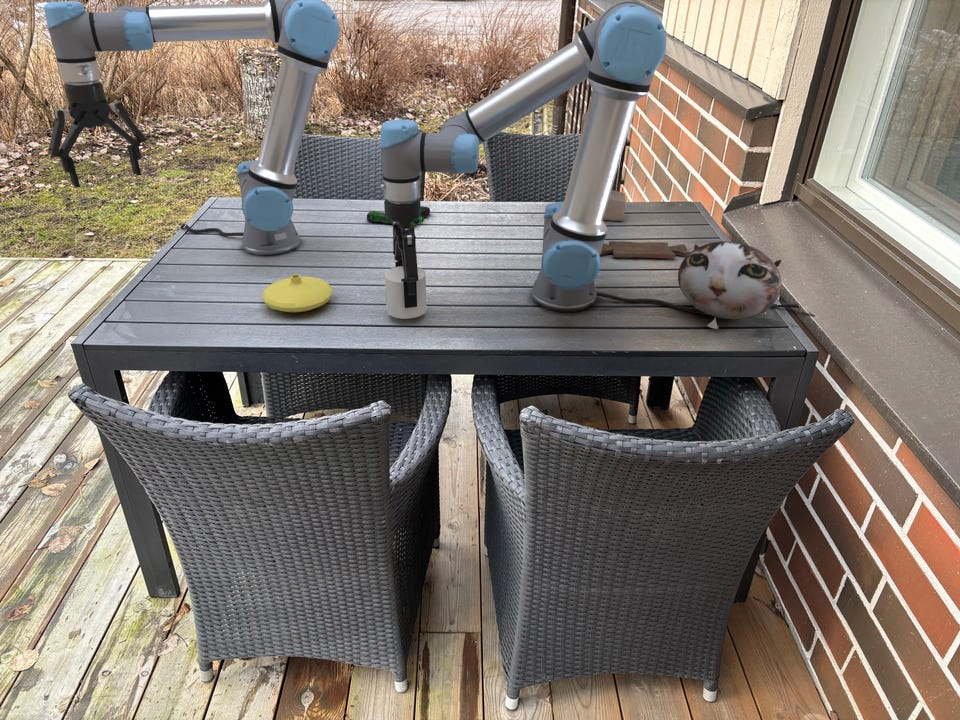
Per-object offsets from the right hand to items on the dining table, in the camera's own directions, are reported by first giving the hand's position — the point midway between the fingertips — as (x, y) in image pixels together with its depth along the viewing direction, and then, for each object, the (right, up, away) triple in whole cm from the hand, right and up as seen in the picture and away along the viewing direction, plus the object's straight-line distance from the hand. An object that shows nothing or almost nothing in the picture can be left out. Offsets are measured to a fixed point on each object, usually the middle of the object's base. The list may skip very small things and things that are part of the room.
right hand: (406, 297), depth 159 cm
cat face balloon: (+72, -4, +5) cm, 72 cm away
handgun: (-8, +29, +57) cm, 64 cm away
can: (0, -3, +1) cm, 3 cm away
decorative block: (+53, +30, +62) cm, 87 cm away
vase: (-26, -1, +7) cm, 26 cm away
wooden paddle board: (+60, +15, +37) cm, 72 cm away
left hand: (-69, +27, +5) cm, 75 cm away
